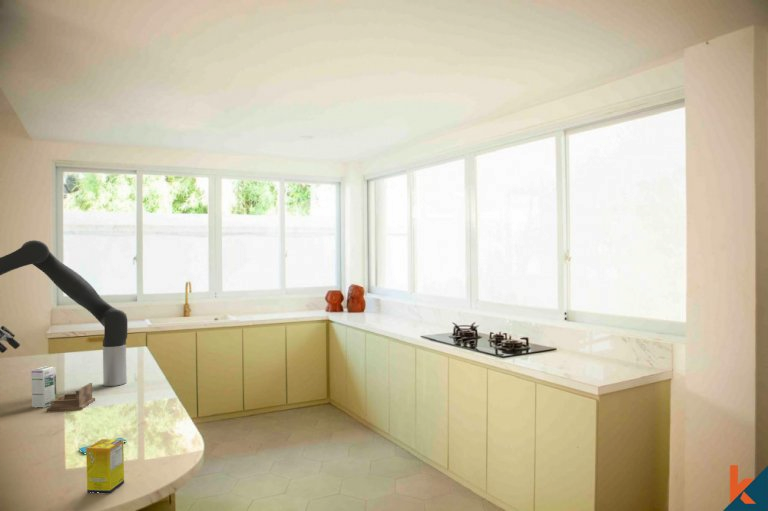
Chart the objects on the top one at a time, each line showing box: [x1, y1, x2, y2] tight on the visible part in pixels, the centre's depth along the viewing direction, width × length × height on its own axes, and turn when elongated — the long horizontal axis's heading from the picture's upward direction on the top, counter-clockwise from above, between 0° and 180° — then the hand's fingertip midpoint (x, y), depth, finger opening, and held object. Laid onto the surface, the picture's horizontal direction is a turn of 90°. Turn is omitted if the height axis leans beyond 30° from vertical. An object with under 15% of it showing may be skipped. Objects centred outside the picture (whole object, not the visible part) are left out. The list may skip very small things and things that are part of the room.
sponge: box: [78, 437, 127, 453], centre depth 151 cm, size 2×12×6 cm
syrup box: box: [30, 365, 58, 409], centre depth 195 cm, size 6×6×14 cm
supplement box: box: [85, 438, 125, 494], centre depth 124 cm, size 6×6×11 cm
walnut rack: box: [46, 382, 96, 413], centre depth 194 cm, size 12×12×7 cm
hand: (11, 349), depth 193 cm, fingers open, 8 cm apart
